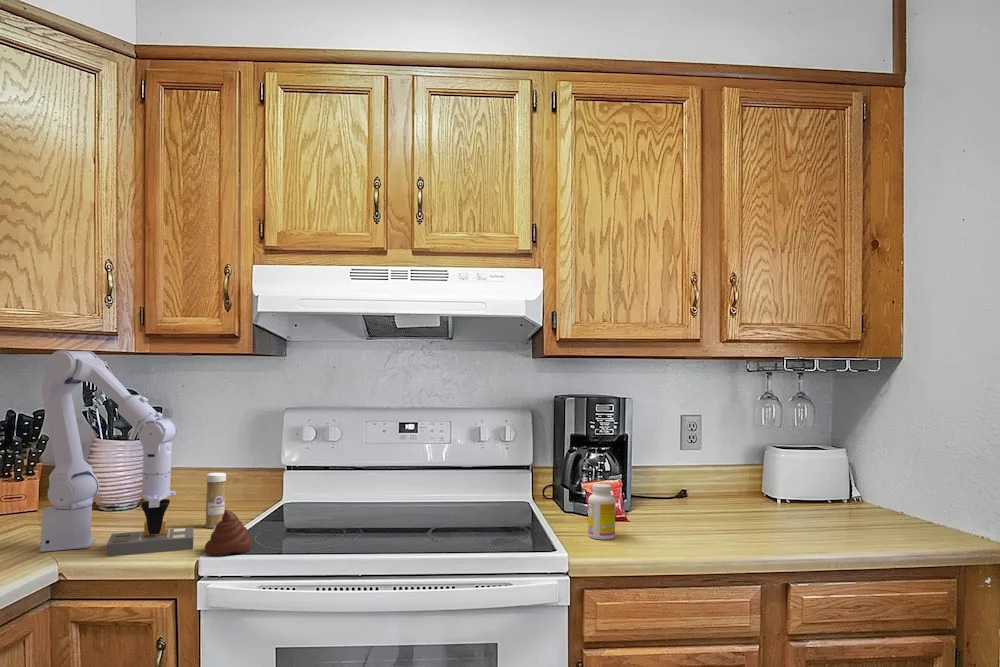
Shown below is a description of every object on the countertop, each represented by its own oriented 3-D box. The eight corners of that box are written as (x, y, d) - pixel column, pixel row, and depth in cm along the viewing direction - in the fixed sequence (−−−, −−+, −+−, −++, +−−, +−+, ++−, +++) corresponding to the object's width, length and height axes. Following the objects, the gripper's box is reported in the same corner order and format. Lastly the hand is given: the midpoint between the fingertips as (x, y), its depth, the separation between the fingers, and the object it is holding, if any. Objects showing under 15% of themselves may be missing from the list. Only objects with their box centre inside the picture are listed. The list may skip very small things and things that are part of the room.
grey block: (106, 556, 147) (106, 543, 147) (111, 544, 156) (111, 532, 156) (193, 548, 154) (193, 536, 154) (193, 538, 163) (193, 526, 163)
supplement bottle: (619, 536, 172) (619, 484, 172) (607, 542, 166) (608, 488, 167) (595, 532, 175) (595, 481, 176) (583, 537, 170) (583, 485, 170)
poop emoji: (209, 559, 146) (210, 515, 147) (200, 550, 153) (201, 508, 154) (256, 552, 152) (258, 510, 153) (246, 543, 159) (247, 503, 160)
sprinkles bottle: (212, 529, 171) (214, 475, 172) (201, 527, 173) (202, 473, 174) (228, 526, 175) (230, 473, 176) (216, 523, 177) (218, 471, 178)
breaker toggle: (143, 535, 154) (144, 522, 155) (144, 532, 157) (145, 519, 157) (165, 534, 156) (166, 521, 156) (166, 530, 159) (166, 518, 159)
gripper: (175, 477, 150) (173, 539, 149) (177, 467, 163) (175, 524, 162) (139, 478, 147) (136, 542, 146) (143, 468, 160) (141, 527, 160)
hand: (154, 533), depth 154 cm, fingers closed
